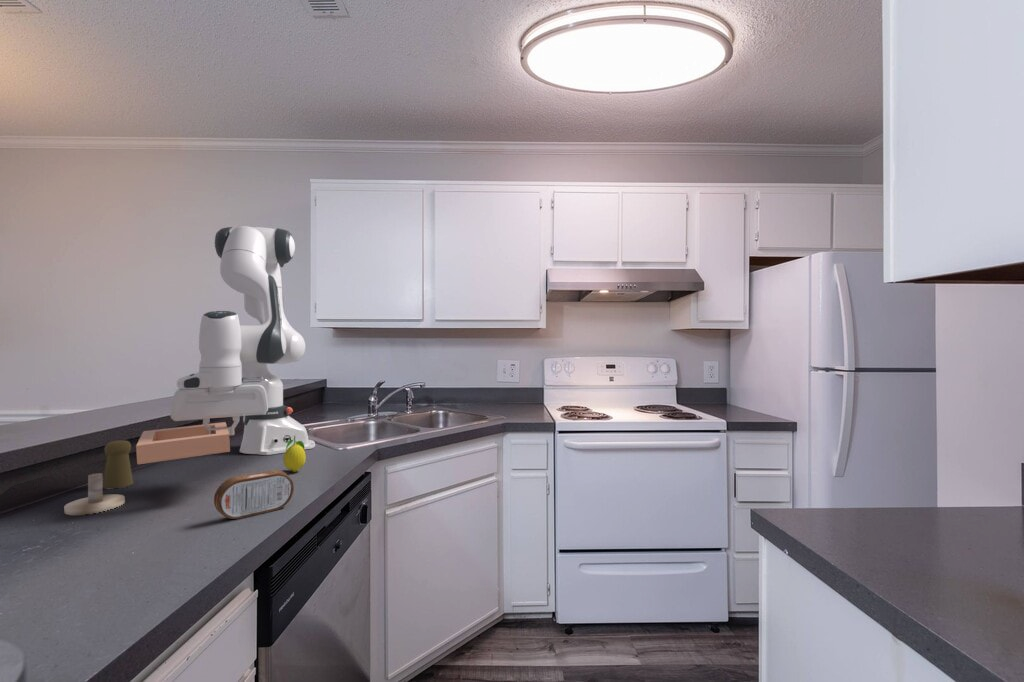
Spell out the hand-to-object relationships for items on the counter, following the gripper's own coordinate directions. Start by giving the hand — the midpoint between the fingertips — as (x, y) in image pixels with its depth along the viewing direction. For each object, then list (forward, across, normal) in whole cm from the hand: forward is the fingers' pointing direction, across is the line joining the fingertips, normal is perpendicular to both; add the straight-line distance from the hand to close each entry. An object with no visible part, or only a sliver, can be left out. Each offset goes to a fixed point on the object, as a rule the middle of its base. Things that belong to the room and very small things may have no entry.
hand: (221, 435), depth 120 cm
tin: (+13, -5, +23) cm, 27 cm away
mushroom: (+13, +24, 0) cm, 27 cm away
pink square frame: (+2, +7, 0) cm, 7 cm away
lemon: (+14, -17, -7) cm, 23 cm away
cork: (+13, +22, -16) cm, 30 cm away
